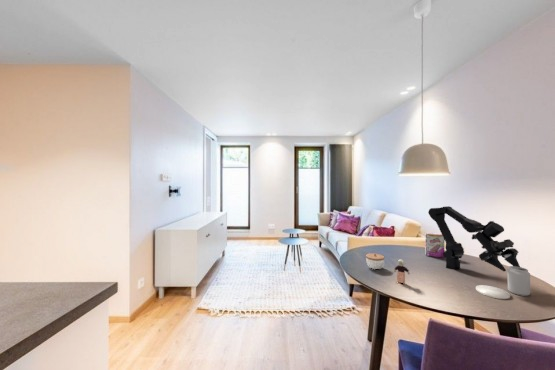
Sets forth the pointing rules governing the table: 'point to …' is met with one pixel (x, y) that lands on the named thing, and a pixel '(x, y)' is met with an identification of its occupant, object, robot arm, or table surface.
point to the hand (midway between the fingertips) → (512, 270)
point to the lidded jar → (375, 261)
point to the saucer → (493, 292)
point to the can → (518, 280)
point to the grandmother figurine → (401, 271)
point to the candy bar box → (434, 244)
